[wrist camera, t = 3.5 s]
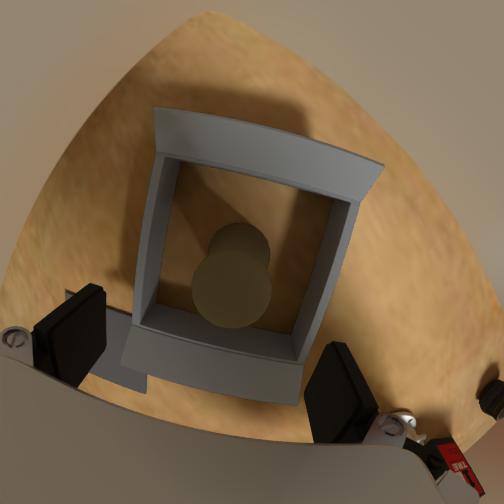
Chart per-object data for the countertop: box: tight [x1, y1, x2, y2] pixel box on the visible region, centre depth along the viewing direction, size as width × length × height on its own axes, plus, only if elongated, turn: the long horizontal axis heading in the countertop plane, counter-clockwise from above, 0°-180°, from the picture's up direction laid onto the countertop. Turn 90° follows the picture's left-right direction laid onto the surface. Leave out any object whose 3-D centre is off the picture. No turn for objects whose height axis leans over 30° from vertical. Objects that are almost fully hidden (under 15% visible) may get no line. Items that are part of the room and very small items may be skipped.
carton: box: [120, 107, 385, 406], centre depth 23 cm, size 17×22×8 cm
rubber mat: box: [65, 292, 147, 394], centre depth 29 cm, size 12×12×1 cm
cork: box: [192, 223, 272, 329], centre depth 21 cm, size 6×6×11 cm
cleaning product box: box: [425, 437, 485, 498], centre depth 28 cm, size 16×9×20 cm, turn 159°
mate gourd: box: [479, 380, 504, 421], centre depth 28 cm, size 7×8×10 cm
